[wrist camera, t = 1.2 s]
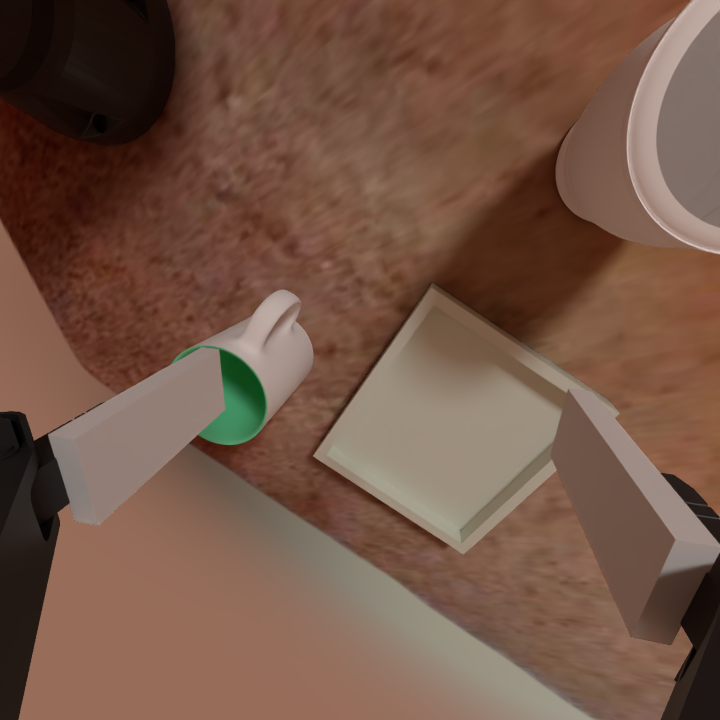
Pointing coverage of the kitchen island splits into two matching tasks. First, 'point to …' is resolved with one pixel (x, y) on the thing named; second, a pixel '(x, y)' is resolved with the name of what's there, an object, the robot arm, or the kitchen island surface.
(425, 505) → the tray
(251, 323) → the mug
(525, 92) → the kitchen island surface
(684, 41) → the jar
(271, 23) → the kitchen island surface
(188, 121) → the kitchen island surface
